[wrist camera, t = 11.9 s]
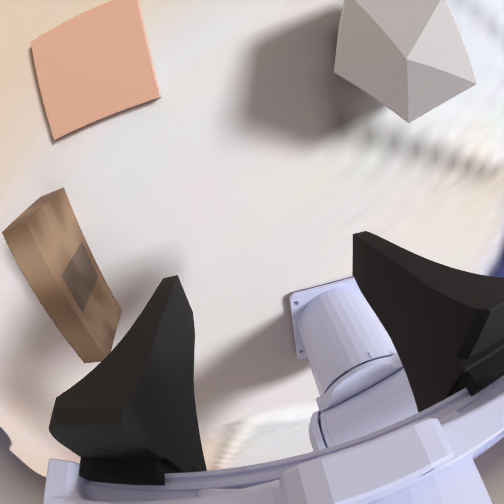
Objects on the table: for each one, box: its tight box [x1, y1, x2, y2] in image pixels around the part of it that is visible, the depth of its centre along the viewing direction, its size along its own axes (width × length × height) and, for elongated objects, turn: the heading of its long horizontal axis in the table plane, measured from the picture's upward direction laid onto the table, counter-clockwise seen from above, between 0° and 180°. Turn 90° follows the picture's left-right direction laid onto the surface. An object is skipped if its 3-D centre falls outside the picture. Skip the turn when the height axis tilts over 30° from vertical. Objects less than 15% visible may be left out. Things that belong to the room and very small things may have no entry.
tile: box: [31, 0, 161, 140], centre depth 14 cm, size 1×8×8 cm
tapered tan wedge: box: [2, 188, 121, 363], centre depth 19 cm, size 12×2×6 cm, turn 10°
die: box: [334, 0, 476, 123], centre depth 13 cm, size 8×9×10 cm
